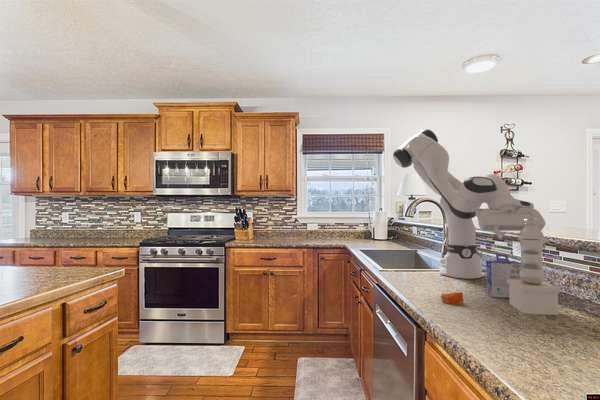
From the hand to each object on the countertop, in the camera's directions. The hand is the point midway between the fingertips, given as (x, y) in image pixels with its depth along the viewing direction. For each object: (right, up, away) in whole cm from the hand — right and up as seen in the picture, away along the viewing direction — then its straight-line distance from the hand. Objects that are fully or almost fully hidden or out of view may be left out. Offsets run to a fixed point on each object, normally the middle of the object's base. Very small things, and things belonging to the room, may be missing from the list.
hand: (518, 238), depth 105 cm
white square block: (-2, -21, -9) cm, 23 cm away
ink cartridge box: (-1, -21, +5) cm, 22 cm away
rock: (-22, -22, 0) cm, 31 cm away
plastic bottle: (-2, -13, -9) cm, 16 cm away
